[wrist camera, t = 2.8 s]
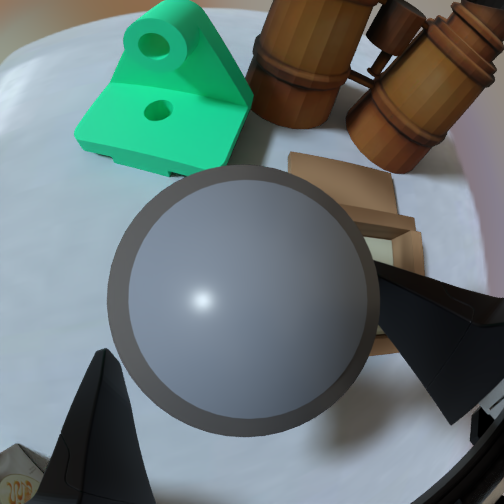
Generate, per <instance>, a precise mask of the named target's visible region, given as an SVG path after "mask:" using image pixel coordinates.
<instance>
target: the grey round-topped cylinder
mask: <svg viewBox="0 0 504 504" xmlns="http://www.w3.org/2000/svg"><path fill="white" fill-rule="evenodd" d="M107 309H108V319H109V325H110V329H111V333H112V337H113V341H114V344H115V347H116V349H117V352H118V354H119V356H120V359H121V361H122V363H123V364H124V366H125V368H126V370H127V371H128V373H129V375H130V376H131V378H132V379H133V380H134V382H135V383H136V384H137V385H138V387H139V388H140V389H141V390H142V392H143V393H144V394H145V395H146V396H147V397H148V398H150V399H151V400H152V401H153V402H154V403H155V404H156V405H157V406H158V407H160V408H161V409H162V410H164V411H165V412H167V413H168V414H169V415H171V416H172V417H174V418H176V419H178V420H180V421H182V422H184V423H186V424H188V425H190V426H192V427H195V428H198V429H200V430H203V431H206V432H210V433H214V434H219V435H224V436H235V437H255V436H265V435H270V434H275V433H280V432H283V431H286V430H289V429H292V428H295V427H297V426H300V425H302V424H304V423H306V422H308V421H310V420H311V419H313V418H315V417H317V416H318V415H320V414H321V413H322V412H324V411H325V410H327V409H328V408H329V407H331V406H332V405H333V404H334V403H335V402H336V401H337V400H338V399H339V398H341V397H342V396H343V395H344V393H345V392H346V391H347V390H348V389H349V388H350V386H351V385H352V384H353V383H354V381H355V380H356V378H357V377H358V375H359V374H360V372H361V370H362V369H363V367H364V365H365V363H366V361H367V359H368V357H369V354H370V352H371V350H372V347H373V343H374V340H375V337H376V333H377V328H378V322H379V314H380V291H379V282H378V276H377V271H376V267H375V264H374V261H373V258H372V254H371V252H370V250H369V247H368V245H367V243H366V241H365V239H364V237H363V235H362V234H361V232H360V230H359V229H358V227H357V225H356V224H355V223H354V221H353V220H352V219H351V217H350V216H349V215H348V214H347V212H346V211H345V210H344V209H343V208H342V207H341V206H340V205H339V204H338V203H337V202H336V201H335V200H334V199H333V198H331V197H330V196H329V195H328V194H326V193H325V192H324V191H322V190H321V189H320V188H318V187H316V186H315V185H313V184H311V183H310V182H308V181H306V180H304V179H302V178H300V177H298V176H295V175H293V174H291V173H288V172H284V171H281V170H278V169H274V168H269V167H264V166H257V165H228V166H221V167H216V168H210V169H206V170H203V171H200V172H197V173H194V174H191V175H189V176H187V177H185V178H183V179H181V180H179V181H177V182H175V183H173V184H172V185H170V186H169V187H167V188H166V189H164V190H163V191H161V192H160V193H159V194H158V195H156V196H155V197H154V198H153V199H152V200H151V201H149V202H148V203H147V204H146V205H145V206H144V208H143V209H142V210H141V211H140V212H139V213H138V214H137V215H136V217H135V218H134V219H133V221H132V222H131V224H130V225H129V227H128V228H127V230H126V231H125V233H124V235H123V237H122V239H121V241H120V243H119V245H118V247H117V250H116V253H115V256H114V259H113V262H112V265H111V270H110V275H109V281H108V291H107Z"/></svg>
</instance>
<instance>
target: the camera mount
mask: <svg viewBox="0 0 504 504" xmlns="http://www.w3.org/2000/svg"><path fill="white" fill-rule="evenodd" d="M123 44H124V48H125V50H124V52H123V54H122V56H121V58H120V61H119V63H118V65H117V67H116V70H115V72H114V74H113V77H112V79H111V81H110V83H109V84H108V86H107V87H106V88H105V89H104V90H103V92H102V93H101V94H100V95H99V97H98V98H97V99H96V101H95V102H94V103H93V105H92V106H91V107H90V109H89V110H88V111H87V113H86V114H85V115H84V117H83V118H82V120H81V121H80V123H79V124H78V126H77V127H76V129H75V131H74V136H75V138H76V140H77V141H78V143H79V144H80V146H81V147H82V149H83V150H85V151H89V152H93V153H98V154H102V155H107V156H111V157H112V159H113V161H114V162H115V163H117V164H121V165H125V166H129V167H133V168H137V169H141V170H145V171H149V172H152V173H156V174H160V175H163V176H167V177H170V175H171V172H174V173H178V174H182V175H185V176H189V175H191V174H194V173H197V172H200V171H203V170H206V169H210V168H216V167H221V166H227V163H228V161H229V158H230V156H231V153H232V151H233V149H234V146H235V144H236V141H237V139H238V137H239V134H240V132H241V129H242V127H243V125H244V122H245V120H246V118H247V116H248V113H249V111H250V109H251V105H252V101H253V96H254V94H253V92H252V90H251V89H250V87H249V85H248V83H247V81H246V80H245V78H244V76H243V74H242V72H241V71H240V69H239V67H238V65H237V64H236V62H235V60H234V58H233V57H232V55H231V53H230V52H229V50H228V48H227V47H226V45H225V43H224V42H223V40H222V38H221V37H220V35H219V33H218V32H217V30H216V29H215V27H214V25H213V24H212V22H211V21H210V19H209V18H208V16H207V14H206V13H205V12H204V10H203V9H202V8H201V7H200V6H199V5H197V4H196V3H194V2H192V1H190V0H165V1H163V2H161V3H159V4H158V5H156V6H155V7H153V8H152V9H151V10H149V11H148V12H147V13H145V14H144V15H143V16H141V17H140V18H139V19H137V20H136V21H135V22H134V23H132V24H131V25H130V26H129V27H128V28H127V30H126V31H125V34H124V38H123Z"/></svg>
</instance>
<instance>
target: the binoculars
mask: <svg viewBox="0 0 504 504" xmlns="http://www.w3.org/2000/svg"><path fill="white" fill-rule="evenodd" d="M378 2H379V3H381V4H382V6H381V8H380V10H379V11H378V13H377V15H376V17H375V19H374V20H373V22H372V24H371V26H370V27H369V29H368V31H367V33H366V36H367V38H368V39H369V40H370V42H372V43H373V44H374V45H375V46H376V47H378V48H379V49H381V50H382V51H381V53H380V54H379V56H378V57H377V59H376V60H375V62H374V64H373V65H372V67H371V68H368V69H367V71H368V72H369V73H370V74H371V75H372V76H374V77H375V78H374V80H372V79H370V78H368V77H366V76H364V75H362V74H360V73H358V72H355V71H353V70H351V67H350V64H351V61H352V59H353V56H354V54H355V51H356V49H357V46H358V44H359V41H360V39H361V36H362V34H363V31H364V29H365V26H366V24H367V21H368V19H369V16H370V14H371V11H372V9H373V6H375V5H377V3H378ZM451 8H452V10H453V13H452V14H451V15H450V16H449V18H448V19H446V18H444V17H441V16H440V15H438V16H437V17H436V18H435V20H434V19H432V18H429V19H427V20H426V17H425V16H424V14H423V13H422V12H420V11H419V10H418V9H417V8H415V7H414V6H412V5H411V4H409V3H408V2H406V1H404V0H273V3H272V5H271V8H270V10H269V13H268V15H267V18H266V21H265V23H264V26H263V29H262V31H261V34H259V35H258V36H257V37H256V39H255V42H254V47H253V55H254V56H253V58H252V61H251V64H250V66H249V69H248V71H247V74H246V77H245V80H246V81H247V83H248V85H249V87H250V89H251V90H252V92H253V94H254V96H253V101H252V105H251V110H252V111H253V112H255V113H256V114H257V115H259V116H260V117H261V118H263V119H265V120H267V121H269V122H272V123H274V124H276V125H279V126H283V127H288V128H292V129H310V128H313V127H317V126H320V125H321V124H323V123H324V122H325V121H327V119H328V117H329V115H330V113H331V110H332V108H333V105H334V102H335V100H336V97H337V94H338V92H339V89H340V86H341V85H343V84H345V82H346V80H347V78H348V79H351V80H353V81H355V82H357V83H359V84H361V85H363V86H365V87H368V88H370V89H369V90H368V91H367V92H366V93H365V94H364V95H363V96H362V97H361V98H360V99H359V100H358V101H357V102H356V104H355V105H354V106H353V107H352V108H351V109H350V110H349V111H348V113H347V116H346V127H347V130H348V133H349V135H350V137H351V140H352V141H353V142H354V144H355V145H356V146H357V148H358V149H359V150H360V152H361V153H363V154H364V155H365V156H366V157H367V158H368V159H369V160H370V161H371V162H372V163H374V164H376V165H377V166H379V167H380V168H382V169H384V170H386V171H389V172H392V173H395V174H405V173H407V172H409V171H411V170H412V169H413V168H414V167H415V166H416V165H417V164H418V163H419V162H420V160H421V159H422V158H423V157H424V156H425V155H426V154H427V153H428V151H429V150H430V149H431V148H432V147H433V146H435V145H438V144H440V143H441V142H442V141H443V140H444V139H445V137H446V135H447V131H448V130H449V129H450V128H451V127H452V126H453V124H455V123H456V121H457V120H458V119H459V118H460V117H461V116H462V115H463V113H464V112H465V111H466V110H467V109H468V108H469V106H470V105H471V104H472V103H473V102H474V100H475V99H476V98H477V97H478V96H479V94H480V93H481V92H482V91H483V90H484V88H485V87H489V86H490V85H492V84H493V83H494V81H495V77H494V75H493V74H494V73H495V72H496V71H497V69H496V67H495V65H494V64H493V62H492V61H493V60H494V59H495V58H496V57H497V56H498V55H499V54H500V53H502V51H503V50H504V45H503V41H504V0H461V3H457V2H453V3H452V5H451ZM421 27H422V28H423V30H422V31H421V32H420V33H419V34H418V35H417V36H416V37H415V38H414V36H415V35H416V33H417V32H418V31H419V29H420V28H421ZM413 38H414V39H413ZM412 39H413V40H412ZM411 40H412V41H411ZM410 42H411V43H410ZM409 43H410V44H409ZM392 55H394V56H398V57H397V58H396V59H395V60H394V61H393V62H392V63H391V64H390V66H389V67H388V68H387V69H386V70H385V71H384V72H382V73H381V71H382V70H383V69H384V67H385V66H386V64H387V63H388V61H389V60H390V58H391V57H392Z"/></svg>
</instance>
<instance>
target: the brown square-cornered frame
mask: <svg viewBox="0 0 504 504" xmlns="http://www.w3.org/2000/svg"><path fill="white" fill-rule="evenodd" d="M288 173H291V174H293V175H295V176H298V177H300V178H302V179H304V180H306V181H308V182H310V183H311V184H313V185H315V186H316V187H318V188H320V189H321V190H322V191H324V192H325V193H326V194H328V195H329V196H330V197H331V198H333V199H334V200H335V201H336V202H337V203H338V204H339V205H340V206H341V207H342V208H343V209H344V210H345V211H346V212H347V214H348V215H349V216H350V217H351V219H352V220H353V221H354V223H355V224H356V225H357V227H358V229H359V230H360V232H361V234H362V235H363V237H364V239H365V241H366V243H367V245H368V247H369V250H370V252H371V254H372V258H373V260H376V261H379V262H382V263H385V264H389V265H392V266H395V267H398V268H401V269H404V270H407V271H410V272H413V273H417V274H420V275H423V276H425V272H424V258H423V247H422V238H421V232H417V231H416V227H415V220H414V218H413V217H408V216H403V215H399V214H397V207H396V200H395V194H394V188H393V182H392V177H391V173H388V172H384V171H380V170H376V169H372V168H368V167H364V166H360V165H356V164H352V163H347V162H343V161H338V160H334V159H329V158H324V157H319V156H313V155H308V154H302V153H297V152H290V154H289V156H288ZM391 353H399V351H398V350H397V348H396V347H395V346H394V344H393V343H392V342H391V341H390V339H389V338H388V337H387V335H386V334H385V333H384V331H383V330H382V329H381V328H380V326H379V325H378V328H377V333H376V337H375V340H374V343H373V347H372V350H371V352H370V354H369V356H375V355H383V354H391Z"/></svg>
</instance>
